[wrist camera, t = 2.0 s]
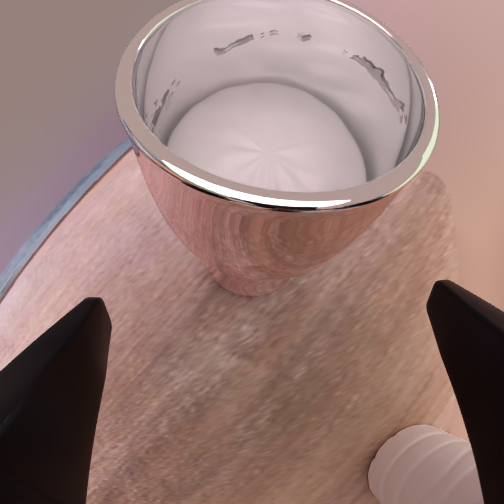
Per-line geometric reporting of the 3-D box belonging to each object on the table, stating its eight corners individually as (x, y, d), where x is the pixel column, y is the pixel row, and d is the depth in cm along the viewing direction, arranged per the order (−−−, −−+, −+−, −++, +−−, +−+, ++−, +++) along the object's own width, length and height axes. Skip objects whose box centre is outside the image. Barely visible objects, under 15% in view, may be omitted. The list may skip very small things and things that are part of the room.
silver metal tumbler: (199, 309, 19) (79, 247, 4) (192, 200, 20) (131, -8, 6) (313, 297, 19) (492, 216, 5) (299, 192, 21) (383, -7, 6)
